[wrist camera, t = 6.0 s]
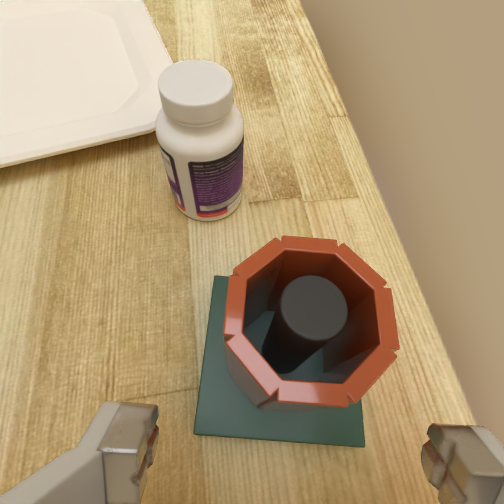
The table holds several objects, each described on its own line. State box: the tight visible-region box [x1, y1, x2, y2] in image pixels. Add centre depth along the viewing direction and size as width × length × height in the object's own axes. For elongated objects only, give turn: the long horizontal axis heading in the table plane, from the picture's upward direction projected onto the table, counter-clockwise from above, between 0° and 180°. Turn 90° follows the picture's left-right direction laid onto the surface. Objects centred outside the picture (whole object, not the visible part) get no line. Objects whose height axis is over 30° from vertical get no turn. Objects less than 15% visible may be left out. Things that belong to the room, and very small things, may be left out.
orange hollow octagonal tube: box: [223, 236, 400, 413], centre depth 15 cm, size 6×6×8 cm
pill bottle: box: [155, 59, 244, 221], centre depth 21 cm, size 5×5×10 cm
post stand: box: [193, 275, 365, 448], centre depth 16 cm, size 9×9×10 cm
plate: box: [0, 0, 173, 168], centre depth 30 cm, size 25×25×2 cm
